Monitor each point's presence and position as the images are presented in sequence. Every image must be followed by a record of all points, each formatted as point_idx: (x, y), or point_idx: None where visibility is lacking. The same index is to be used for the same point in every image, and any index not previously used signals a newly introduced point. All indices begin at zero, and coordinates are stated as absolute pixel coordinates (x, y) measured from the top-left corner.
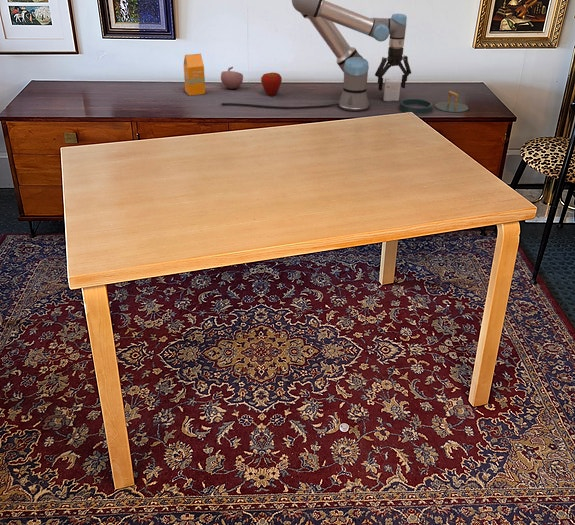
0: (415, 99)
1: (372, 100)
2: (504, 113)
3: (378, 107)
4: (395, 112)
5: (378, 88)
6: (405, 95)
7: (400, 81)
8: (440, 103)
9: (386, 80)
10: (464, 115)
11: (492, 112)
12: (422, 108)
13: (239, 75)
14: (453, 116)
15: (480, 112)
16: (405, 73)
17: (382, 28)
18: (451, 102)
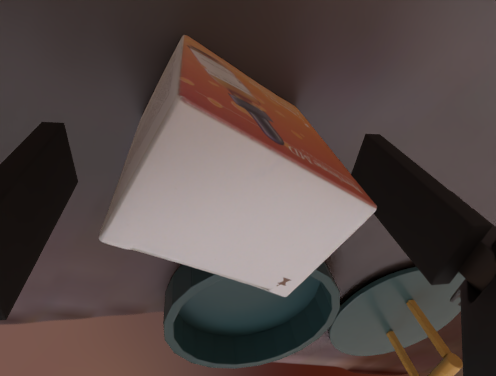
0: None
1: (34, 51)
2: None
3: None
4: (116, 306)
5: (38, 131)
6: (417, 47)
7: (304, 277)
8: (401, 283)
9: (134, 217)
10: (363, 357)
11: (459, 348)
12: (232, 367)
13: None
14: (323, 360)
15: (432, 344)
16: (465, 312)
17: None
18: (452, 282)
